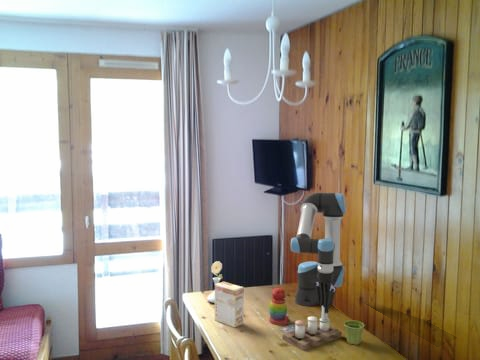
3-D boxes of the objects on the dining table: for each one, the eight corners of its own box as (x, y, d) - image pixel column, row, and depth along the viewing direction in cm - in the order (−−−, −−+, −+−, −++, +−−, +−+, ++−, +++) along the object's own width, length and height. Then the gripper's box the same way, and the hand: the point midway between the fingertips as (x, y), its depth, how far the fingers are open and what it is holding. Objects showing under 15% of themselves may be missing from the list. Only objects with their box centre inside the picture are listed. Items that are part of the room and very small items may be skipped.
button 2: (324, 329, 221) (324, 316, 220) (331, 333, 217) (331, 319, 216) (317, 332, 218) (317, 318, 217) (324, 335, 214) (324, 321, 213)
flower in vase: (204, 299, 266) (204, 258, 264) (222, 297, 270) (221, 256, 268) (212, 306, 254) (212, 263, 252) (230, 303, 258) (230, 261, 257)
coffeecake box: (244, 324, 230) (244, 287, 228) (234, 328, 224) (234, 290, 223) (223, 316, 240) (223, 280, 238) (214, 320, 235) (214, 283, 233)
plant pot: (352, 348, 202) (353, 329, 202) (339, 340, 211) (339, 322, 210) (368, 343, 207) (368, 325, 206) (354, 336, 215) (354, 318, 214)
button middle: (312, 329, 216) (312, 315, 215) (319, 332, 212) (319, 318, 211) (305, 331, 213) (305, 317, 213) (312, 335, 209) (312, 320, 209)
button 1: (300, 333, 211) (300, 319, 211) (307, 336, 207) (307, 322, 207) (292, 335, 209) (292, 321, 208) (299, 339, 205) (299, 324, 204)
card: (299, 323, 231) (299, 322, 231) (307, 327, 226) (307, 325, 226) (278, 329, 223) (278, 328, 223) (286, 333, 218) (286, 332, 218)
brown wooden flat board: (320, 327, 226) (320, 322, 225) (341, 336, 214) (341, 331, 214) (282, 339, 211) (282, 334, 211) (303, 350, 200) (303, 345, 200)
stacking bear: (287, 326, 227) (287, 292, 226) (267, 324, 229) (267, 290, 228) (289, 318, 237) (289, 285, 236) (270, 316, 239) (270, 284, 238)
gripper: (310, 269, 218) (309, 316, 220) (329, 275, 207) (328, 324, 209) (321, 267, 222) (320, 313, 224) (340, 273, 212) (339, 321, 213)
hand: (324, 318), depth 217 cm, fingers closed
